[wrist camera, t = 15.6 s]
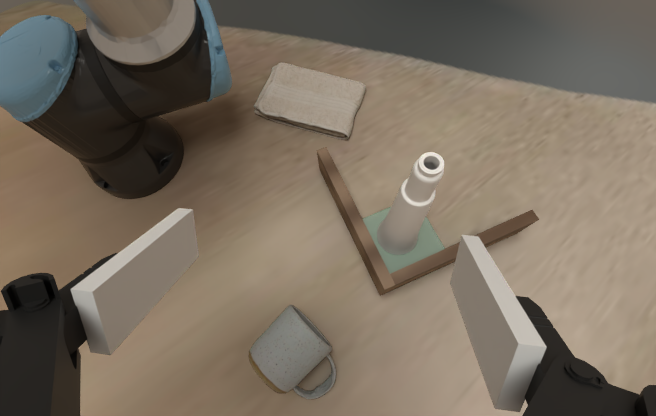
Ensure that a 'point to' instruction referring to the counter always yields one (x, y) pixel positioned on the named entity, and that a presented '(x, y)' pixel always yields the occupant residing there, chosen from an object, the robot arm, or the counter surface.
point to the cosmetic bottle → (411, 205)
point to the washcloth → (310, 100)
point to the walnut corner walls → (370, 251)
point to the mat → (424, 248)
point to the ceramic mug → (291, 354)
